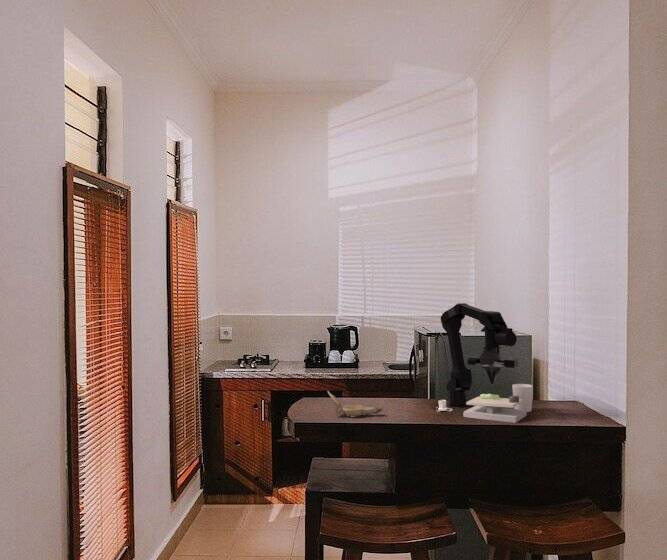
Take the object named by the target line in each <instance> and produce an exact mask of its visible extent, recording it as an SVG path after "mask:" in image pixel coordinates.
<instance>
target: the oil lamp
mask: <svg viewBox="0 0 667 560" xmlns="http://www.w3.org/2000/svg"><path fill="white" fill-rule="evenodd" d="M327 394H328V395H329V396H330V398H331V399H332V401H333V405H334V411H335V413H336V414H338V415H341V414H345V415H348V416H359V417H362V416H361V415H364V416H369V415H375V414H376V415H377V414H379V413H380V412H382V410H383V407H377V406H376V407H375V406H364V405H363V404H362V405H361V404H347V405H342V403H341V402H340V400H339V399H338V398H337V397H336V396H335V395H333V394H332V393H331V392H330V391H329V390H327ZM338 409H340V411H339V410H338ZM345 415H344V416H345Z"/></svg>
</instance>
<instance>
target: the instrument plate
mask: <svg viewBox="0 0 667 560" xmlns="http://www.w3.org/2000/svg"><path fill="white" fill-rule="evenodd" d="M522 402H523V399H519V396H513V395H509V396H508V397H507V398H506V397H500V395H499V394H492V393H481V394H480V395H479V396H477V397H474V398H472V399H470V400H468V401H467V402H466V406H476V405H478V406H487V407H488V406H494V407H503V408H508V409H514V407H515V406H517V405H519V404H520V403H522Z"/></svg>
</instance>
